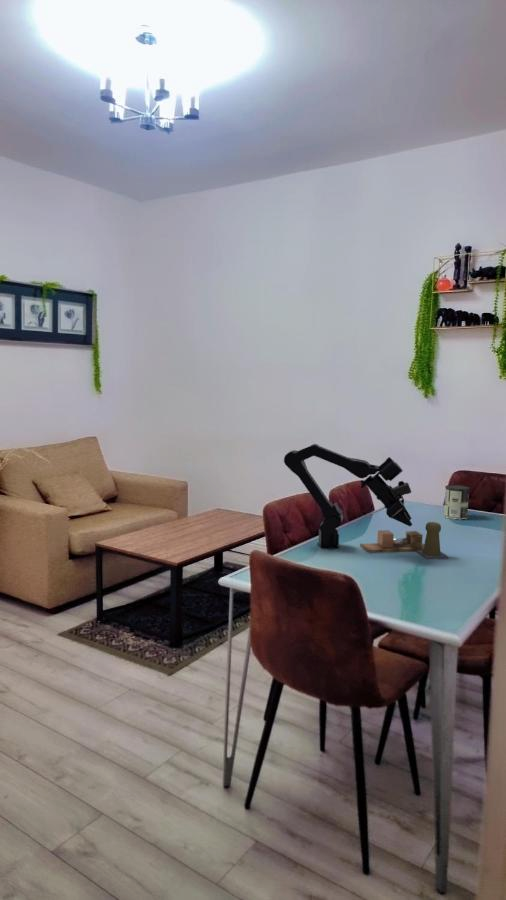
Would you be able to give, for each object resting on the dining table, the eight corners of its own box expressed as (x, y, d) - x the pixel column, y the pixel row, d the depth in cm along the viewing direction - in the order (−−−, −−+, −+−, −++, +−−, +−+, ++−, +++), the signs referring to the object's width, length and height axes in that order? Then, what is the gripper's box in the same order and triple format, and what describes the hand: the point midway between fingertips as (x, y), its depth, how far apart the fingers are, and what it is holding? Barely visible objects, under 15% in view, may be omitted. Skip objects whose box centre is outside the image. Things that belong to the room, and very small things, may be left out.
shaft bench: (367, 552, 210) (368, 536, 209) (360, 546, 218) (360, 531, 217) (431, 551, 214) (431, 535, 213) (421, 544, 221) (422, 529, 221)
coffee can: (462, 515, 273) (464, 485, 272) (470, 520, 263) (472, 489, 261) (440, 514, 273) (442, 484, 272) (447, 519, 263) (449, 488, 262)
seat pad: (426, 559, 204) (426, 556, 204) (416, 552, 212) (416, 550, 211) (448, 558, 205) (448, 556, 205) (437, 551, 213) (437, 549, 213)
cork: (443, 555, 206) (445, 524, 204) (427, 555, 205) (429, 524, 204) (436, 550, 212) (438, 520, 210) (419, 550, 211) (421, 520, 210)
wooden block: (382, 547, 212) (382, 534, 211) (377, 543, 217) (377, 530, 216) (408, 547, 214) (409, 533, 213) (402, 543, 218) (403, 529, 218)
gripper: (398, 479, 199) (430, 513, 198) (398, 470, 217) (427, 502, 216) (373, 500, 202) (404, 534, 200) (375, 490, 220) (403, 521, 218)
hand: (410, 522), depth 209 cm, fingers open, 9 cm apart
